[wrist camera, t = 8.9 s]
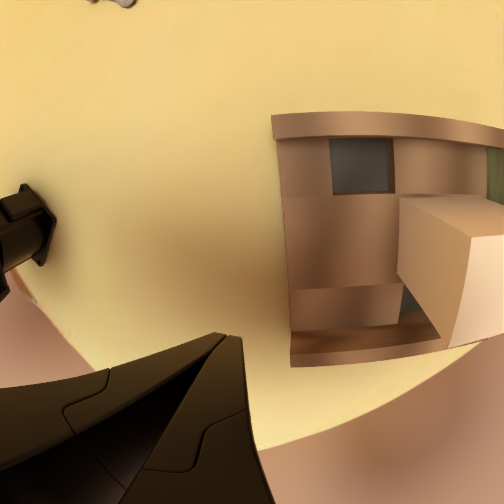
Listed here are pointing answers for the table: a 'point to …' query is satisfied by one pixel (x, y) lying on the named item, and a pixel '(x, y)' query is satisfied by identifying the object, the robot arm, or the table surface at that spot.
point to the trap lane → (368, 223)
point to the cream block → (454, 264)
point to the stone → (120, 2)
